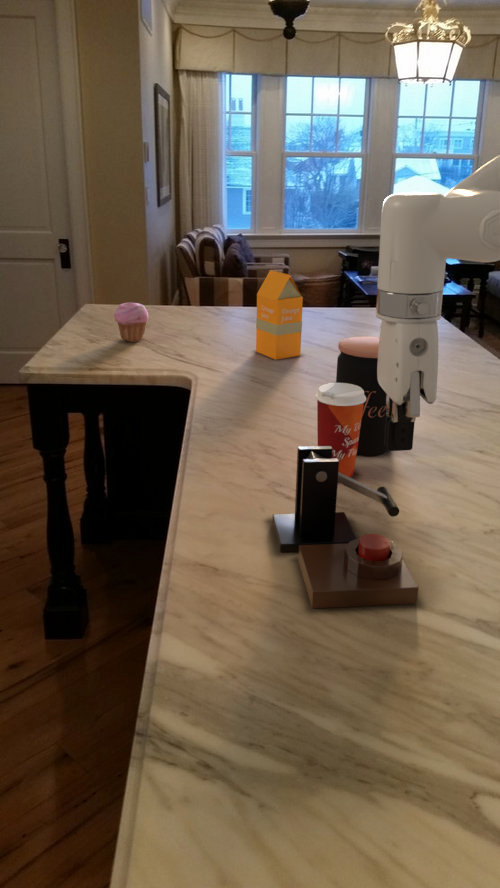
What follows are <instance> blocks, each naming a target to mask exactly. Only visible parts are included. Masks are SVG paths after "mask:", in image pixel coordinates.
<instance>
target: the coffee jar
mask: <svg viewBox="0 0 500 888" xmlns="http://www.w3.org/2000/svg"><path fill="white" fill-rule="evenodd" d="M379 338H380V336H352V337H351V336H350V337H346V338H342V339H340V340H339V341H338V350H339V354H338V355H337V359H336V360H337V361H336V377H335V383H348V384H353V385H357V386H359V387H361V388H362V389H363V390H364V395H365V396H366V401H365V402H364V405H363V412H362V419H361V426H360V433H359V440H358V447H357V454H356V456H363V457H374V456H380V455H383V454H385V453H387V452H389V450H388V449H387V447H386V446H385V445H384V441H385V426H386V417H391V416H387V414H386V392H385V391H384V390H383V389H382V387H381V386H380V385H379V383H378V379H377V362H378V348H379Z"/></svg>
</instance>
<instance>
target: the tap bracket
mask: <svg viewBox="0 0 500 888" xmlns="http://www.w3.org/2000/svg"><path fill="white" fill-rule="evenodd" d="M332 450H333V449H332V447H331V446H318V445H315V446H314V445H310V446H308V445H307V446H297V454H296V455H297V458H296V475H295V477H296V479H295V500H294V501H295V502H294V513H275V514H272V525H273V529H274V533H275V536H276V537H275V538H276V541H277V546H278V549H279V552H280V553H291V552H292V553H294V552H296V553H297V552H298V553H299V545H320V544H348V543H349V542H350V541H353V540H355V539H357V537H356V534H355V532H354V530H353V528H352V526H351V523H350V521H349V519H348V517H347V515H346V512H345V511H338V512H337V498H338V497H337V496H338V483H339V482H338V471H339V460H338V458H332ZM311 451H312V452H314V453H316V454H318V455H320V456H322V457H324V458H326V459H307V457H308V456H309V454H310V453H311Z"/></svg>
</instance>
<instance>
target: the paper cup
mask: <svg viewBox="0 0 500 888" xmlns="http://www.w3.org/2000/svg"><path fill="white" fill-rule="evenodd" d="M317 389H318V390H317V392H316V394H315V395H314V398H315V399H316V404H317V405H316V406H317V407H316V410H317V411H316V412H317V414H316V415H317V416H316V417H317V421H316V422H317V426H316V427H317V429H316V430H317V446H331V447H332V449H333V450H332V458H338V460H339V471H338V472H340V473H342V474H344V475H346V476H348V477H350V478H353V476H354V474H355V473H354V472H355V467H356V460H357V455H356V454H357V447H358V440H359V433H360V426H361V419H362V412H363V405H364V402H365V401H366V396H365V395H364V390H363V389H362V388H361V387H359V386H357V385H353V384H348V383H336V382H328V383H324V384H322V385H320V386H319V387H318V388H317Z"/></svg>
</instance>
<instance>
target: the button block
mask: <svg viewBox="0 0 500 888" xmlns="http://www.w3.org/2000/svg"><path fill="white" fill-rule="evenodd" d="M359 539H360V537H358V538H356V539H355V540H353V541H350V542H349V543H348V544H320V545H299V551H298V553H297V554H298V555H297V556H298V557H297V562H298V564H299V568H300V572H301V575H302V579H303V582H304V584H305V589H306V592H307V595H308V599H309V602H310V605H311V609H324V608H325V609H326V608H327V609H328V608H347V607H350V608H351V607H371V606H372V607H373V606H394V605H416V604H417V603H418V595H419V588H420V587H419V585H418V584H417V582H416V580H415V578H414V576H413V574H412V572H411V570H410V569H409V567H408V565H407V564H406V561H405V559H404V554H403V552H402V550H401V548H400V546H398V545H396V544H395V542H394V541H390V552H389V557H388V559H387V560H384V561H371V560H367V559H364V558H362V557H360V556H359V554H358V547H359Z"/></svg>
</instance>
